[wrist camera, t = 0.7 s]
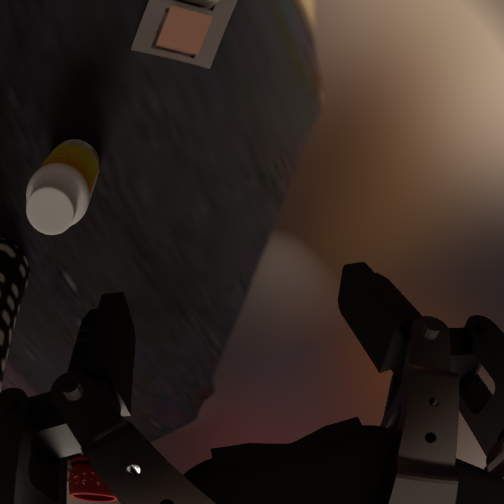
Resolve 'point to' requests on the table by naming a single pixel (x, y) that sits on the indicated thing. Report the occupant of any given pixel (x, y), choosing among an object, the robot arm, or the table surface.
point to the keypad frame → (155, 19)
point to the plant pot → (87, 482)
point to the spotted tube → (10, 294)
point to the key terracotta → (183, 30)
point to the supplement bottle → (62, 187)
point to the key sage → (204, 2)
